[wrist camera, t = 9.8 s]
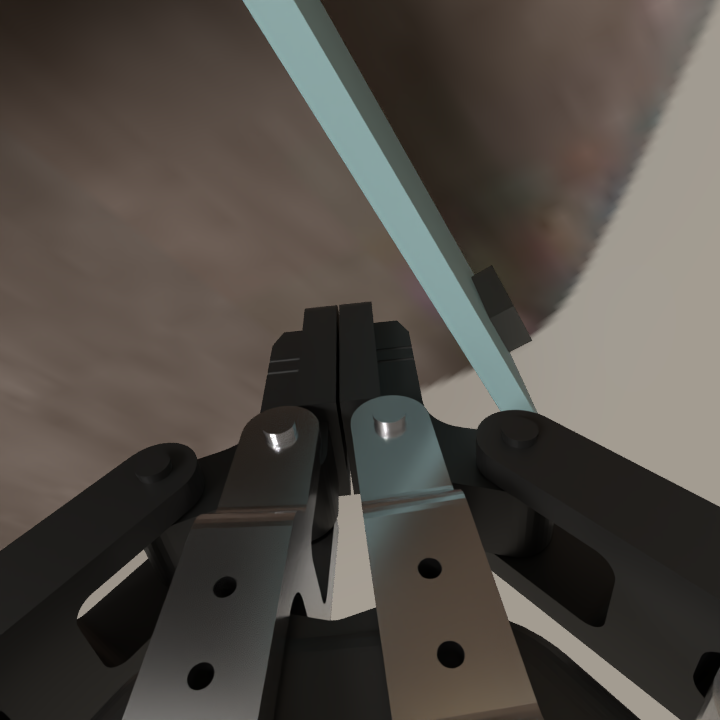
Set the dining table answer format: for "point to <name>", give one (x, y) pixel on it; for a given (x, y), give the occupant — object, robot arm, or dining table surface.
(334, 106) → the door
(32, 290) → the dining table surface
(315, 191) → the dining table surface
